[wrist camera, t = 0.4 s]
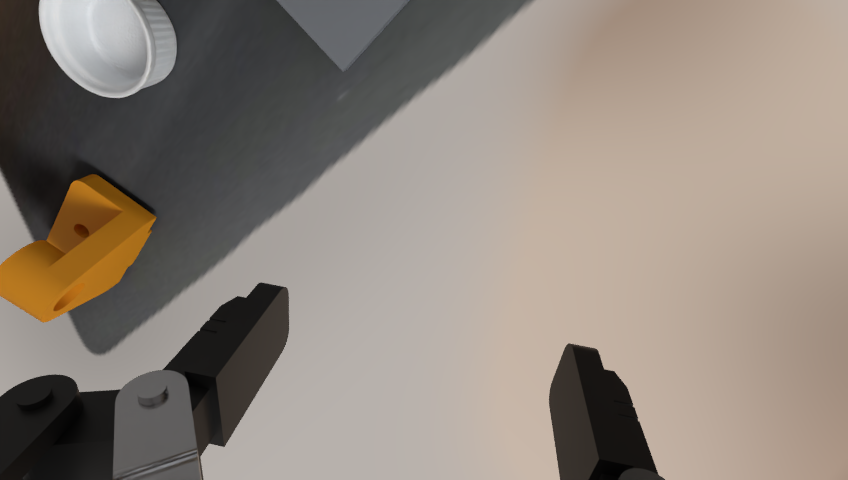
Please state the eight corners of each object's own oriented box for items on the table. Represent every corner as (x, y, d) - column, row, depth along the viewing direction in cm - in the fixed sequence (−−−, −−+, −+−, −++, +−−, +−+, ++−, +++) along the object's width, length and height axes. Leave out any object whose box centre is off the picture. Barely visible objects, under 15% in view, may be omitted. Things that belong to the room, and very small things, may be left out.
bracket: (97, 167, 43) (-29, 217, 33) (162, 214, 45) (61, 276, 34) (64, 237, 48) (-56, 301, 37) (124, 277, 50) (25, 349, 39)
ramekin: (73, 50, 38) (28, 54, 35) (96, -53, 34) (47, -61, 31) (167, 110, 40) (133, 120, 36) (199, 18, 36) (165, 18, 32)
